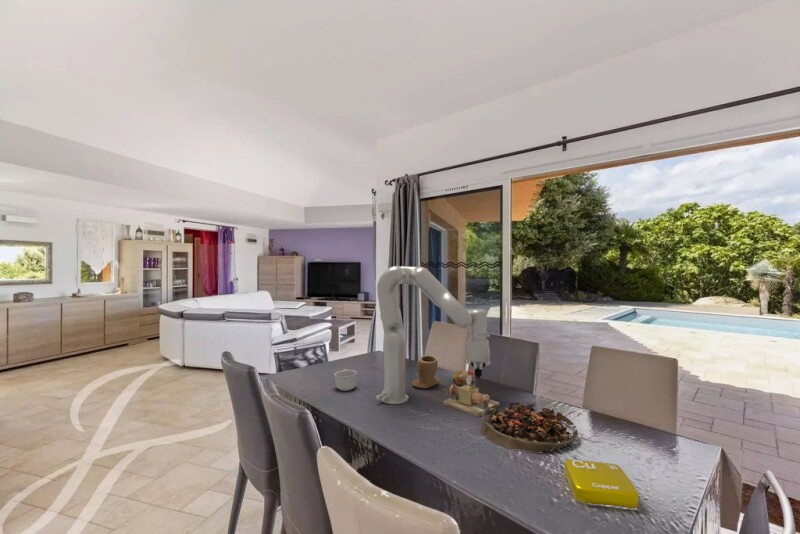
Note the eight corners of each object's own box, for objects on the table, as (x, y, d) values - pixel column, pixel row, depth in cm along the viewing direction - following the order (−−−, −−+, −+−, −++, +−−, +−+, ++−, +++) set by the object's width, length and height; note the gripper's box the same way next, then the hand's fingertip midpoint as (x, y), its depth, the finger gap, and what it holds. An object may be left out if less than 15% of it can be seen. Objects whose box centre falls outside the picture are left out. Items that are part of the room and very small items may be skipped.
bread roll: (464, 393, 185) (470, 380, 183) (447, 381, 191) (453, 368, 189) (473, 388, 193) (479, 375, 191) (457, 376, 199) (463, 364, 197)
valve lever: (471, 386, 158) (471, 378, 158) (465, 385, 159) (465, 377, 159) (473, 377, 170) (474, 369, 170) (468, 377, 171) (468, 369, 171)
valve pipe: (482, 410, 151) (483, 392, 151) (447, 399, 163) (447, 382, 163) (490, 406, 155) (490, 389, 155) (455, 395, 168) (455, 379, 168)
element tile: (576, 505, 95) (576, 486, 95) (562, 472, 110) (562, 456, 110) (641, 512, 92) (641, 493, 92) (618, 478, 107) (618, 461, 107)
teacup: (355, 392, 175) (355, 376, 175) (332, 392, 176) (332, 375, 176) (359, 383, 189) (359, 367, 189) (337, 383, 190) (338, 367, 190)
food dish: (532, 410, 158) (533, 392, 158) (599, 448, 127) (601, 425, 127) (460, 420, 146) (461, 400, 146) (516, 464, 115) (517, 439, 115)
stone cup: (427, 392, 176) (427, 360, 176) (408, 386, 185) (408, 356, 185) (446, 384, 187) (446, 355, 187) (428, 379, 196) (428, 351, 195)
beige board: (478, 416, 149) (478, 412, 149) (443, 404, 161) (443, 401, 161) (499, 405, 160) (499, 402, 160) (464, 395, 173) (464, 392, 173)
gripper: (495, 335, 169) (495, 376, 169) (462, 334, 173) (462, 373, 173) (494, 339, 162) (495, 381, 162) (460, 337, 166) (460, 378, 166)
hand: (478, 377), depth 168 cm, fingers closed
